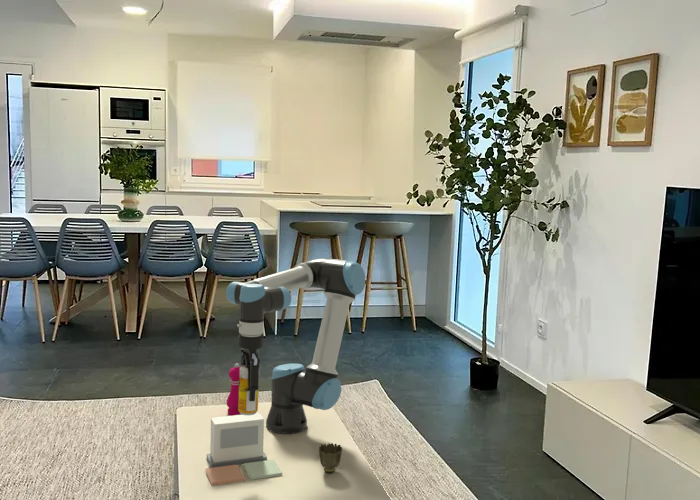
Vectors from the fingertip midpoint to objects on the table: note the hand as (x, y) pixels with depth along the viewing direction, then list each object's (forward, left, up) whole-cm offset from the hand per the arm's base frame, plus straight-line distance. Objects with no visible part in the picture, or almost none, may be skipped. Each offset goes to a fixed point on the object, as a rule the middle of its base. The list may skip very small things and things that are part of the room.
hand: (248, 406), depth 205 cm
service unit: (+1, -8, -21) cm, 22 cm away
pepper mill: (-8, -49, -21) cm, 54 cm away
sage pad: (-5, +2, -21) cm, 21 cm away
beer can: (0, 0, -2) cm, 2 cm away
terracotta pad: (+7, +2, -21) cm, 22 cm away
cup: (-25, +9, -21) cm, 34 cm away
